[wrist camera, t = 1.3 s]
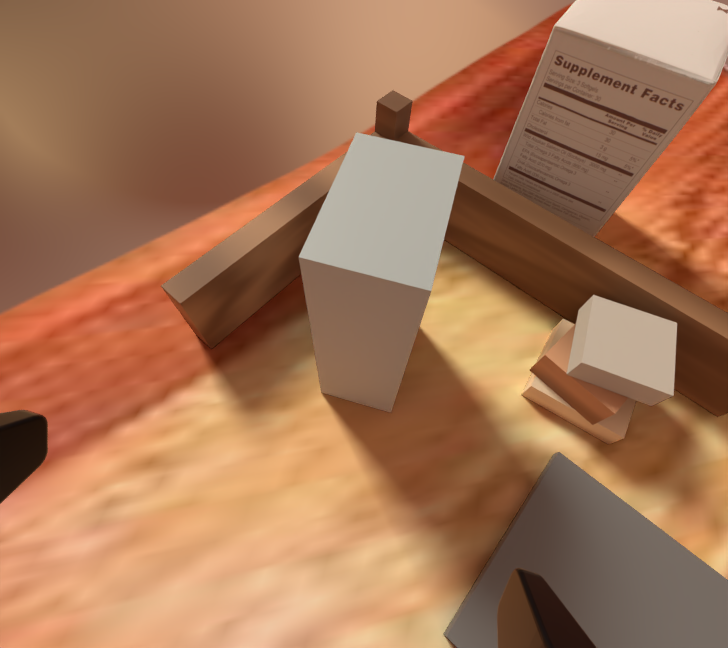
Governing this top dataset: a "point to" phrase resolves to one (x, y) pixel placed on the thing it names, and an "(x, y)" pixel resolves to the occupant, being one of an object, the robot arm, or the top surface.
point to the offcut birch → (549, 400)
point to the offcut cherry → (575, 384)
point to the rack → (478, 240)
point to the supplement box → (611, 101)
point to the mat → (599, 571)
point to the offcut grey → (624, 351)
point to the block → (375, 264)
